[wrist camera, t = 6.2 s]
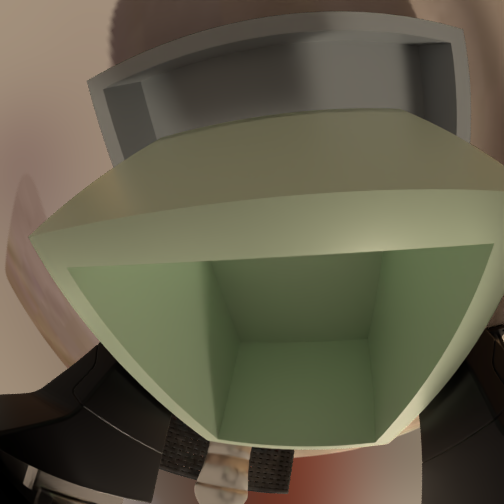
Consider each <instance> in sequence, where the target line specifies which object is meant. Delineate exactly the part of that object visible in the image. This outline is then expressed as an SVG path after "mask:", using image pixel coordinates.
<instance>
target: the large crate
mask: <svg viewBox="0 0 504 504" xmlns="http://www.w3.org/2000/svg"><path fill="white" fill-rule="evenodd" d="M87 83H88V87H89V91H90V95H91V99H92V102H93V106H94V109H95V112H96V116H97V119H98V123H99V126H100V129H101V132H102V135H103V139H104V141H105V145H106V147H107V150H108V153H109V156H110V159H111V162H112V165H113V167H115V166H117V165H118V164H120V163H121V162H123V161H124V160H126V159H127V158H129V157H130V156H132V155H133V154H135V153H137V152H138V151H140V150H141V149H143V148H145V147H146V146H148V145H150V144H151V143H153V142H155V141H156V140H158V139H160V138H162V137H165V136H169V135H173V134H176V133H180V132H184V131H188V130H192V129H197V128H201V127H206V126H210V125H215V124H220V123H225V122H230V121H236V120H241V119H247V118H253V117H260V116H267V115H274V114H282V113H291V112H301V111H313V110H328V109H351V108H388V109H402V110H404V111H407V112H409V113H411V114H414V115H416V116H418V117H420V118H422V119H425V120H427V121H429V122H431V123H433V124H435V125H437V126H439V127H441V128H443V129H445V130H447V131H449V132H450V133H452V134H454V135H456V136H458V137H460V138H461V139H463V140H465V141H467V142H468V143H470V135H471V92H470V76H469V65H468V57H467V50H466V43H465V37H464V32H463V29H460V28H457V27H453V26H450V25H446V24H442V23H437V22H433V21H428V20H423V19H418V18H412V17H406V16H399V15H392V14H382V13H370V12H349V11H328V12H306V13H294V14H284V15H276V16H269V17H262V18H256V19H251V20H246V21H241V22H236V23H231V24H227V25H223V26H219V27H215V28H211V29H208V30H204V31H201V32H197V33H194V34H191V35H188V36H185V37H182V38H179V39H176V40H173V41H170V42H168V43H165V44H162V45H160V46H157V47H155V48H152V49H150V50H147V51H145V52H143V53H140V54H138V55H136V56H134V57H132V58H129V59H127V60H125V61H123V62H121V63H119V64H117V65H115V66H113V67H111V68H109V69H107V70H106V71H104V72H102V73H100V74H98V75H97V76H95V77H93V78H91V79H89V80H88V81H87Z"/></svg>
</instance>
